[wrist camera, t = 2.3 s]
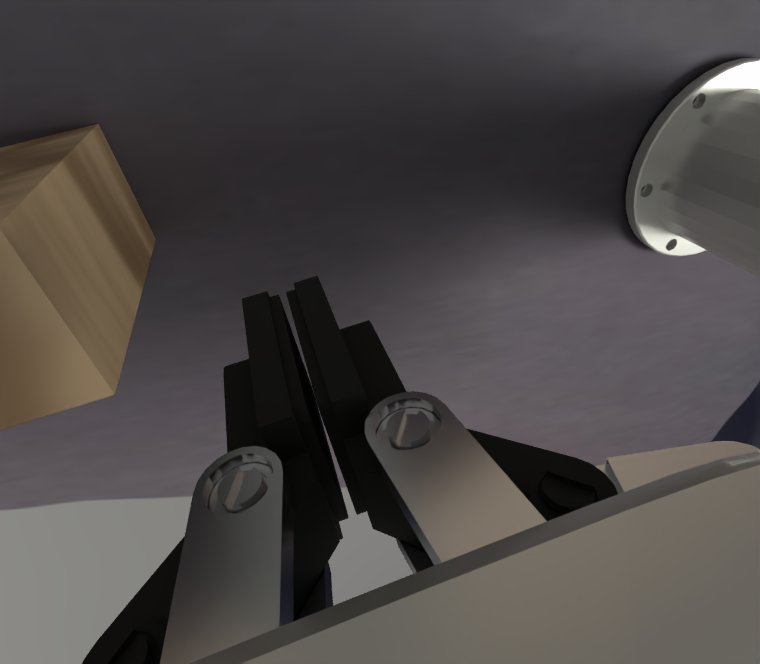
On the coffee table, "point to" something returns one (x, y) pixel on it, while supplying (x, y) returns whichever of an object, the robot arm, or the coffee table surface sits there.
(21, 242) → the brown wooden block
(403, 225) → the coffee table surface
